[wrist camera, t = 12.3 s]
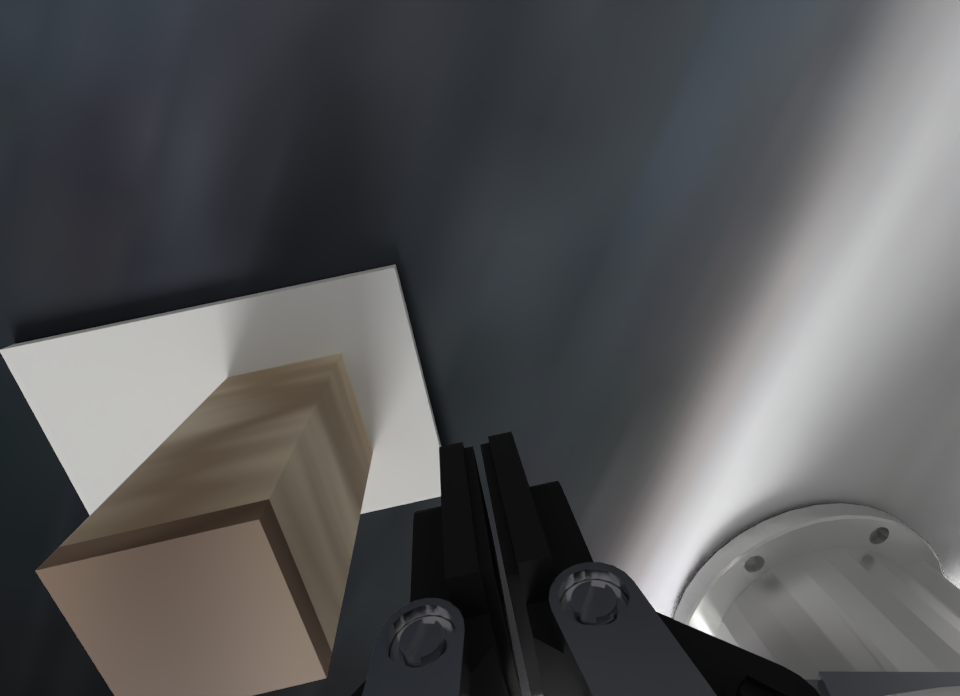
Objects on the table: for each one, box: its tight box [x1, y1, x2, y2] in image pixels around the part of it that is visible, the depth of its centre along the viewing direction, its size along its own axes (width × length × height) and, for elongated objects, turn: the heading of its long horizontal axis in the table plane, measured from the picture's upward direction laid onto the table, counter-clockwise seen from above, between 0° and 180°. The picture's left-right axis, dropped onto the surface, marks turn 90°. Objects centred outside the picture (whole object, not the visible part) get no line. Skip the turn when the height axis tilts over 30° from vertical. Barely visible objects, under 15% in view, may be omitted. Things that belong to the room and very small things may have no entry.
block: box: [36, 352, 373, 696], centre depth 14 cm, size 4×4×9 cm
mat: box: [0, 264, 441, 515], centre depth 18 cm, size 13×9×1 cm
